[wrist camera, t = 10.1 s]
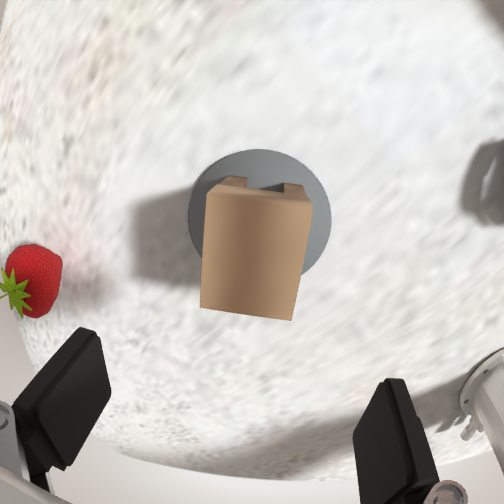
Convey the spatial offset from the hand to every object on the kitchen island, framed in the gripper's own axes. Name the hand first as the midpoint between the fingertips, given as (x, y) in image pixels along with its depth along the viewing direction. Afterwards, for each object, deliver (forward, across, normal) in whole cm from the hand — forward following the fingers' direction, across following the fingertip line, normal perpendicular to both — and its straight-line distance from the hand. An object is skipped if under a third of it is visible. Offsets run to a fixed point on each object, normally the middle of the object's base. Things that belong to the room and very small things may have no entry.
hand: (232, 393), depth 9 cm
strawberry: (+18, +22, +7) cm, 29 cm away
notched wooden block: (+18, +1, 0) cm, 18 cm away
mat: (+19, +1, 0) cm, 19 cm away
